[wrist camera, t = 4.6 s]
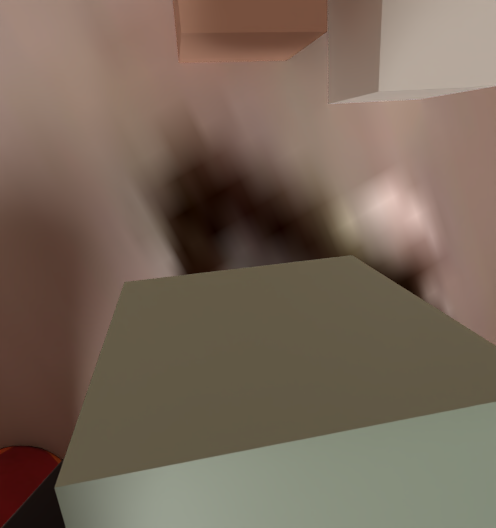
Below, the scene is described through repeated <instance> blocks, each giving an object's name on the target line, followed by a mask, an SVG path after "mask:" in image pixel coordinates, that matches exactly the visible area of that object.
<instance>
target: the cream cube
mask: <svg viewBox="0 0 496 528" xmlns="http://www.w3.org/2000/svg"><path fill="white" fill-rule="evenodd" d="M494 86H496V0H328V104H339V103H359V102H378V101H398V100H418V99H425V98H431V97H437V96H442V95H448V94H454V93H460V92H465V91H471V90H477V89H483V88H488V87H494Z"/></svg>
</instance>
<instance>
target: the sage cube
mask: <svg viewBox="0 0 496 528" xmlns="http://www.w3.org/2000/svg"><path fill="white" fill-rule="evenodd" d="M54 488H55V492H56V495H57V499H58V502H59V506H60V509H61V513H62V516H63V520H64V523H65V527H66V528H496V346H495V345H494V344H492V343H490V342H489V341H487V340H486V339H484V338H483V337H481V336H479V335H478V334H476V333H475V332H473V331H471V330H470V329H468V328H467V327H465V326H463V325H462V324H460V323H459V322H457V321H456V320H454V319H452V318H451V317H449V316H448V315H446V314H444V313H443V312H441V311H440V310H438V309H436V308H435V307H433V306H432V305H430V304H428V303H427V302H425V301H424V300H422V299H421V298H419V297H417V296H416V295H414V294H413V293H411V292H409V291H408V290H406V289H405V288H403V287H401V286H400V285H398V284H397V283H395V282H394V281H392V280H390V279H389V278H387V277H386V276H384V275H382V274H381V273H379V272H378V271H376V270H374V269H373V268H371V267H370V266H368V265H366V264H365V263H363V262H362V261H360V260H359V259H357V258H355V257H354V256H352V255H351V256H342V257H334V258H325V259H317V260H308V261H300V262H291V263H283V264H274V265H266V266H257V267H249V268H241V269H232V270H224V271H215V272H207V273H198V274H190V275H181V276H173V277H164V278H156V279H147V280H139V281H130V282H124V285H123V288H122V291H121V294H120V297H119V300H118V303H117V306H116V309H115V311H114V314H113V317H112V320H111V323H110V326H109V329H108V332H107V335H106V338H105V341H104V344H103V347H102V350H101V352H100V355H99V358H98V361H97V364H96V367H95V370H94V373H93V376H92V379H91V382H90V385H89V388H88V391H87V393H86V396H85V399H84V402H83V405H82V408H81V411H80V414H79V417H78V420H77V423H76V426H75V429H74V432H73V434H72V437H71V440H70V443H69V446H68V449H67V452H66V455H65V458H64V461H63V464H62V467H61V470H60V473H59V475H58V478H57V481H56V484H55V487H54Z"/></svg>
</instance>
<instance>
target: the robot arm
mask: <svg viewBox="0 0 496 528" xmlns="http://www.w3.org/2000/svg"><path fill="white" fill-rule="evenodd" d="M64 458H65V457H64ZM63 461H64V459H63V460H62V461H61V462H60V463H59V464H58V465H57V466H56V467H55V468H54V470H53V471H52V472H51V473H50V474H49V475H48V476H47V477H46V478H45V480H44V481H43V482H42V483H41V484H40V485H39V486H38V487H37V488H36V490H35V491H34V492H33V493H32V494H31V495H30V496H29V497H28V498H27V500H26V501H25V502H24V503H23V504H22V505H21V506H20V507H19V508H18V510H17V511H16V512H15V513H14V514H13V515H12V516H11V517H10V518H9V520H8V521H7V522H6V523H5V524H4V525H3V526H2V527H1V528H66V527H65V523H64V520H63V516H62V513H61V509H60V506H59V502H58V499H57V495H56V492H55V488H54V487H55V484H56V481H57V478H58V475H59V473H60V470H61V467H62V464H63Z"/></svg>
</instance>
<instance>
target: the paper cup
mask: <svg viewBox="0 0 496 528" xmlns="http://www.w3.org/2000/svg"><path fill="white" fill-rule="evenodd" d="M61 461H62V460H61V459H60V458H58V457H57V456H55V455H54V454H52V453H50V452H48V451H46V450H43V449H40V448H36V447H30V446H12V447H6V448H2V449H0V528H1V527H2V526H3V525H4V524H5V523H6V522H7V521H8V520H9V518H10V517H11V516H12V515H13V514H14V513H15V512H16V511H17V510H18V508H19V507H20V506H21V505H22V504H23V503H24V502H25V501H26V500H27V498H28V497H29V496H30V495H31V494H32V493H33V492H34V491H35V490H36V488H37V487H38V486H39V485H40V484H41V483H42V482H43V481H44V480H45V478H46V477H47V476H48V475H49V474H50V473H51V472H52V471H53V470H54V468H55V467H56V466H57V465H58V464H59V463H60V462H61Z"/></svg>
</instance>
